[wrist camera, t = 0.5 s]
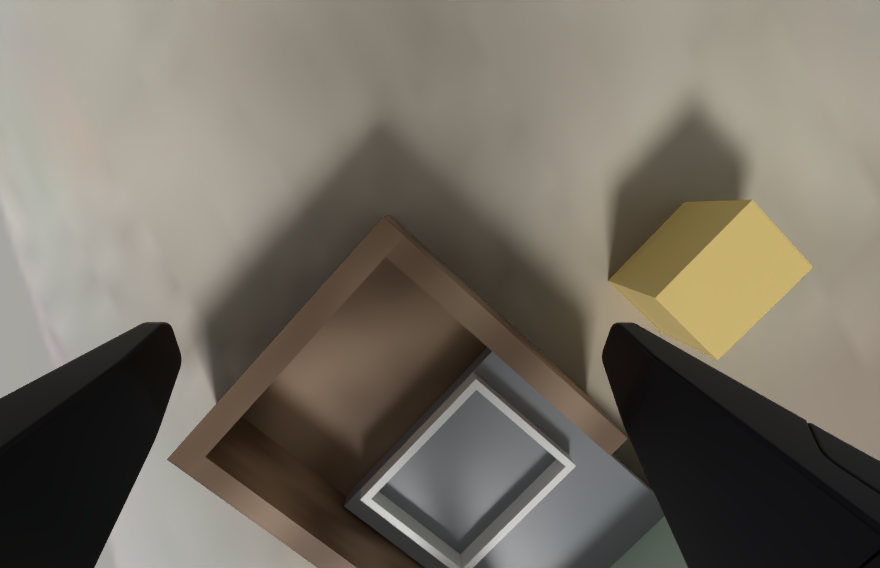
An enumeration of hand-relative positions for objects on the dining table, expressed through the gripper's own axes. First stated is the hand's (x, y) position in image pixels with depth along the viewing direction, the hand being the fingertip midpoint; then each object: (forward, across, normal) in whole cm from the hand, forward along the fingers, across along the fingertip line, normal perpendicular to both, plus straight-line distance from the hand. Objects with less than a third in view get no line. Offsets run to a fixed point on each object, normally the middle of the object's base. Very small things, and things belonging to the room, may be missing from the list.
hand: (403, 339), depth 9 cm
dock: (+11, -1, +13) cm, 17 cm away
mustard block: (+13, -16, +6) cm, 21 cm away
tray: (+8, -7, +18) cm, 21 cm away
